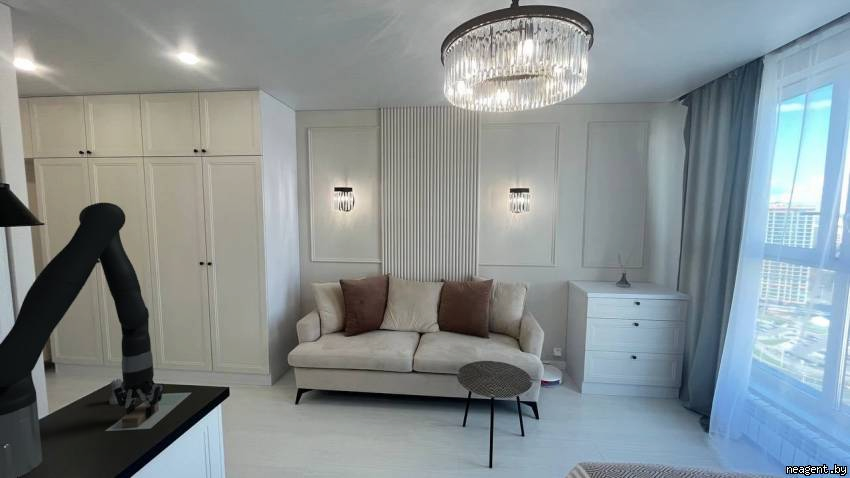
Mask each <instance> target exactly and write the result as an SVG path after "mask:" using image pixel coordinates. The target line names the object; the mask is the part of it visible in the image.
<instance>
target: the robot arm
mask: <svg viewBox="0 0 850 478" xmlns="http://www.w3.org/2000/svg"><path fill="white" fill-rule="evenodd" d="M78 221H79V225H78V226H77V229H76V230H75V232H74V233H73V236H72V238H71V239H70V241H69V242H68V243H67V244H66V245H65V246H64V247H63V248H62V249H61V250H60V251H59V252H58V253H57V254H56V255H55V256H54V257H53V258H52V259H51V260H50V261H49V262H48V263H47V264H46V266H45V267H44V268H43V269H42V270H41V272H40V273H39V274H38V276H37V277H36V278H35V279H34V281H33V282H32V284H31V285H30V287H29V289H28V291H27V293H26V294H25V296H24V298H23V301H22V304H21V306H20V307H19V308H20V309H19V310H18V311H19V312H18V315H17V317H16V319H15V322H14V324H13V326H12V328H11V329H10V331H9V332H8V333H7V335H6V336H5V337H4V338H3V340H2V341H1V342H0V478H17V477H18V478H20V477H23V476H24V475H26V474H28V473H30V472H32V471H34V470H35V469H36V468H37V467H38V466H39V465H40V464H41V463H42V462H43V454H42V452H43V451H42V442H41V431H40V420H39V407H38V400H37V398H38V397H37V390H36V387H35V384H34V381H33V371H34V369H35V367H36V366H37V363H38V361H39V358H40V357H41V355H42V353H43V350H44V349H45V347H46V345H47V342H48V340H49V339H50V337H51V335H52V334H53V332H54V330H55V329H56V328H57V326H58V325H59V324H60V322H61V320H62V319H63V318H64V317H65V315H66V313H67V312H68V311H69V309H70V307H71V306H72V304H73V303H74V302H75V301H76V299H77V297H78V296H79V295H80V293H81V291H82V290H83V287H84V286H85V285H86V283H87V281H88V279H89V278H90V276H91V275H92V273H93V270H94V268H95V267H96V265H97V263H98V261H99V262H100V264H101V268H102V272H103V274H104V277H105V280H106V283H107V287H108V289H109V292H110V295H111V297H112V299H113V301H114V307H115V311H116V315H117V319H118V322H119V323H120V327H121V336H122V338H121V374H122V381H123V382H122V384H123V385H122V384H121V386H119V387H118V388H116V389H115V390H114V393H115V396H116V399H117V402H118V404H117V405H118V406H119V407H124V408H126V411H125V412H126V415H128V414H129V413H131V412H132V411H133V410H135V409H136V408H137V407H136V403H135V402H136V400H137V398H139V399H141V401H142V402H143V403H144V402H145V404H146V406H147V407H146V417H147V418H150V417H151V416H152V415H153V414H154V413H155V404H157V403H158V402H159V401H161V398H162V394H164V393H163V392H164V387H165V384H164V383H161V384H156V383H155V381H154V380H153V379H154V375H155V373H154V360H153V352H152V343H151V336H150V332H149V331H150V330H149V328H150V327H149V318H150V314H149V309H148V307H147V306H146V303H145V301H144V298H143V295H142V290H141V285H140V282H139V278H138V275H137V273H136V272H137V271H136V270H135V268H134V265H133V264H132V262H131V260H130V259H129V257H128V254H127V252H126V250H125V249H124V245H123V243H122V239H121V235H120V231H121V230H122V228H123V227H124V225H125V223H126V215H125V211H124V210H123V209H122V208H121V207H120V206H119V205H117V204H114V203H110V202H95V203H93V204H90V205H87V206H85V207H84V208H82V210H81V211H80V212H79V215H78ZM122 398H123V400H122ZM149 400H150V401H149Z"/></svg>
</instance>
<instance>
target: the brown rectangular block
mask: <svg viewBox="0 0 850 478" xmlns="http://www.w3.org/2000/svg"><path fill="white" fill-rule="evenodd" d="M142 403H143V404H142ZM142 403H141V404H139V405H138V406H139V407H138V406H137V407H135V408H136V409H135V410H133V411H132V412H131V413H129V414H128V415H127V414H126V415H125V416H123V417H124V418H123V417H121V419H122V426H123V428H133V427H139V426H140V425H141V424H143V423H144V422H145V421H146V420H148V419H149V418H147V417H146V407H147V406H146V404H145V403H144V402H142ZM157 411H159V408H158V403H157V404H155V413H156V412H157ZM155 413H154V414H155ZM154 414H153V415H154Z"/></svg>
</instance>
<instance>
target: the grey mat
mask: <svg viewBox="0 0 850 478" xmlns="http://www.w3.org/2000/svg"><path fill="white" fill-rule="evenodd" d="M191 394H192V392H174V393H173V392H172V393H162V398H161V401H159V402H158V408H159V411H157V412H156V413H155V414H154V415H152V416H151V417H150V418H149V419H148V420H146V421H145V422H144V423H143V424H141V425H140V426H139V427H133V428H123V426H122V418H124V417H125V416H123V417H122V418H121V419H119V420H117V422H115V423H114V424H112V425H111V426H110V427H109V428H106V430H105V432H111V431H114V432H115V431H128V430H129V431H130V430H131V431H132V430H133V431H134V430H147V429H148V430H150V429H151V428H153V427H154V426H155V425H156V424H157V423H159V422H160V421H161V420H162V419H163V418H165V417H166V416H167V415H168V414H169V413H170V412H172V411H173V410H174V409H175V408H176V407H177V406H178V405H180V403H182V402H183V401H184V400H185V399H186V398H187V397H189V396H190V395H191ZM149 401H150V400H149ZM143 403H145V402H144V401H143V402H142V403H141V404H143ZM139 406H140V405H138V406H137V407H139Z"/></svg>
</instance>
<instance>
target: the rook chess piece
mask: <svg viewBox="0 0 850 478" xmlns="http://www.w3.org/2000/svg"><path fill="white" fill-rule="evenodd" d="M122 384H123V379H122V378H117V379H116V378H115V379H113V380H111V381H110V384H109V386H111V390H112V391H111V396H110V398H109V400H108V401H109V403H108V404H109V405H116V404H117V405H118V402H117V399H116V396H115V393H114V390H115V389H116V388H118V387H119V386H121V385H122ZM122 400H123V398H122Z"/></svg>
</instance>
